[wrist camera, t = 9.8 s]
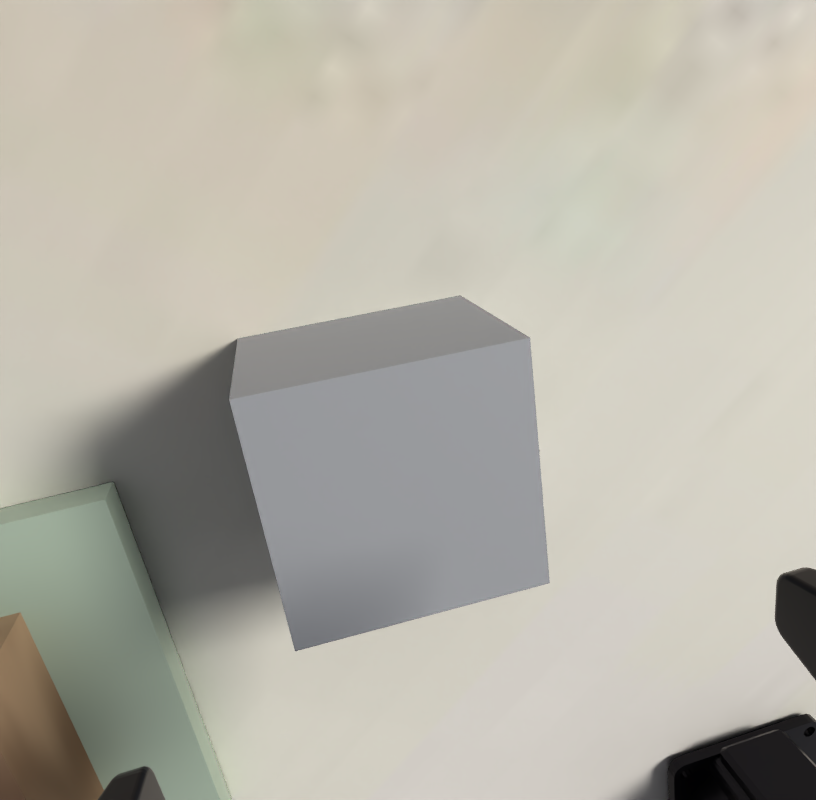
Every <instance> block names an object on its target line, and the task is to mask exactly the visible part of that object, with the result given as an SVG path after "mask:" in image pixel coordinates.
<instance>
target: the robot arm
mask: <svg viewBox="0 0 816 800" xmlns="http://www.w3.org/2000/svg"><path fill="white" fill-rule="evenodd" d="M775 622H776V626H777V628H778V631H779V632H780V634H781V636H782V637H783V639H784V640H785V641H786V643H787V644H788V645H789V646H790V648H791V649H792V650H793V652H794V653H795V654H796V655H797V657H798V658H799V659H800V661H801V662H802V663H803V665H804V666H805V667H806V668H807V670H808V671H809V672H810V674H811V675H812V676H813V677H814V679H815V680H816V570H815V569H811V568H800V569H796V570H793V571H790V572H786V573H783V574H782V575H780V576H779V578H778V580H777V585H776V605H775ZM668 787H669V800H816V720H815V719H814V718H813V717H812V716H811V715H809V714H804V715H800V716H797V717H794V718H791V719H788V720H785V721H782V722H779V723H777V724H774V725H771V726H768V727H765V728H762V729H759V730H756V731H753V732H750V733H747V734H744V735H741V736H738V737H735V738H732V739H729V740H726V741H723V742H720V743H718V744H715V745H712V746H709V747H706V748H703V749H700V750H697V751H694V752H691V753H688V754H685V755H682V756H679V757H677V758H675V759H674V760H673V761H672V762H671V763H670V765H669V768H668ZM98 800H165V797H164V795H163V793H162V790H161V788H160V786H159V783H158V781H157V779H156V776H155V774H154V772H153V770H152V769H151V768H150V767H148V766H143V767H139V768H136V769H133V770H129V771H126V772H123V773H120V774H118V775H116V776H115V777H114V778H113V779H112V780H111V781H110V782H109V784H108V785H107V787H106V788H105V790H104V791H103V792H102V794H101V795H100V797H99V798H98Z"/></svg>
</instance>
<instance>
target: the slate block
mask: <svg viewBox="0 0 816 800" xmlns="http://www.w3.org/2000/svg"><path fill="white" fill-rule="evenodd" d="M229 402H230V405H231V409H232V413H233V417H234V421H235V424H236V428H237V432H238V436H239V440H240V443H241V447H242V451H243V455H244V459H245V462H246V466H247V470H248V474H249V478H250V481H251V485H252V489H253V493H254V497H255V500H256V504H257V508H258V512H259V516H260V519H261V523H262V527H263V531H264V535H265V538H266V542H267V546H268V550H269V554H270V557H271V561H272V565H273V569H274V573H275V576H276V580H277V584H278V588H279V592H280V595H281V599H282V603H283V607H284V611H285V614H286V618H287V622H288V626H289V630H290V633H291V637H292V641H293V645H294V649H295V651H298V650H302V649H305V648H309V647H313V646H316V645H320V644H324V643H328V642H331V641H335V640H339V639H343V638H346V637H350V636H354V635H358V634H361V633H365V632H369V631H373V630H376V629H380V628H384V627H387V626H391V625H395V624H399V623H402V622H406V621H410V620H414V619H417V618H421V617H425V616H429V615H432V614H436V613H440V612H443V611H447V610H451V609H455V608H458V607H462V606H466V605H470V604H473V603H477V602H481V601H485V600H488V599H492V598H496V597H500V596H503V595H507V594H511V593H514V592H518V591H522V590H526V589H529V588H533V587H537V586H541V585H544V584H548V583H550V582H549V570H548V557H547V545H546V532H545V520H544V507H543V495H542V482H541V470H540V457H539V445H538V432H537V420H536V407H535V394H534V382H533V369H532V357H531V344H530V337H528V336H526V335H525V334H523V333H521V332H520V331H518V330H516V329H515V328H513V327H511V326H510V325H508V324H507V323H505V322H503V321H502V320H500V319H498V318H497V317H495V316H493V315H492V314H490V313H488V312H487V311H485V310H483V309H482V308H480V307H479V306H477V305H475V304H474V303H472V302H470V301H469V300H467V299H465V298H464V297H462V296H455V297H450V298H445V299H440V300H434V301H429V302H424V303H419V304H414V305H409V306H403V307H398V308H393V309H388V310H383V311H378V312H372V313H367V314H362V315H357V316H352V317H347V318H341V319H336V320H331V321H326V322H321V323H316V324H310V325H305V326H300V327H295V328H290V329H285V330H279V331H274V332H269V333H264V334H259V335H254V336H248V337H243V338H238V339H237V346H236V354H235V361H234V368H233V375H232V382H231V389H230V397H229Z"/></svg>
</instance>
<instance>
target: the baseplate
mask: <svg viewBox="0 0 816 800" xmlns="http://www.w3.org/2000/svg"><path fill="white" fill-rule="evenodd" d="M19 612H21V615H22V617H23V619H24V621H25V623H26V625H27V627H28V629H29V632H30V634H31V636H32V638H33V640H34V642H35V644H36V647H37V649H38V651H39V653H40V655H41V657H42V659H43V661H44V664H45V666H46V668H47V670H48V672H49V674H50V676H51V678H52V681H53V683H54V685H55V687H56V689H57V691H58V693H59V696H60V698H61V700H62V702H63V704H64V706H65V708H66V710H67V713H68V715H69V717H70V719H71V721H72V723H73V725H74V728H75V730H76V732H77V734H78V736H79V738H80V740H81V742H82V745H83V747H84V749H85V751H86V753H87V755H88V757H89V759H90V762H91V764H92V766H93V768H94V770H95V772H96V774H97V777H98V779H99V781H100V783H101V785H102V787H103V789H104V790H105V788H106V787H107V785H108V784H109V782H110V781H111V780H112V779H113V778H114V777H115V776H116V775H118V774H120V773H123V772H126V771H129V770H133V769H136V768H139V767H143V766H148V767H150V768H151V769H152V770H153V772H154V774H155V776H156V779H157V781H158V783H159V786H160V788H161V790H162V793H163V795H164V797H165V800H232V798H231V795H230V793H229V790H228V787H227V785H226V782H225V779H224V777H223V774H222V771H221V769H220V766H219V763H218V761H217V758H216V755H215V753H214V750H213V747H212V745H211V742H210V739H209V736H208V734H207V731H206V728H205V726H204V723H203V720H202V718H201V715H200V712H199V710H198V707H197V704H196V702H195V699H194V696H193V694H192V691H191V688H190V686H189V683H188V680H187V678H186V675H185V672H184V670H183V667H182V664H181V661H180V659H179V656H178V653H177V651H176V648H175V645H174V643H173V640H172V637H171V635H170V632H169V629H168V627H167V624H166V621H165V619H164V616H163V613H162V611H161V608H160V605H159V603H158V600H157V597H156V595H155V592H154V589H153V586H152V584H151V581H150V578H149V576H148V573H147V570H146V568H145V565H144V562H143V560H142V557H141V554H140V552H139V549H138V546H137V544H136V541H135V538H134V536H133V533H132V530H131V528H130V525H129V522H128V520H127V517H126V514H125V511H124V509H123V506H122V503H121V501H120V498H119V495H118V493H117V490H116V487H115V485H114V482H111V483H107V484H102V485H98V486H94V487H90V488H85V489H81V490H77V491H73V492H69V493H64V494H60V495H56V496H52V497H48V498H43V499H39V500H35V501H31V502H26V503H22V504H18V505H14V506H10V507H5V508H1V509H0V617H4V616H8V615H12V614H15V613H19Z"/></svg>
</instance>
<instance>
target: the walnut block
mask: <svg viewBox="0 0 816 800" xmlns="http://www.w3.org/2000/svg"><path fill="white" fill-rule="evenodd" d="M103 791H104V789H103V787H102V785H101V783H100V781H99V779H98V777H97V774H96V772H95V770H94V768H93V766H92V764H91V762H90V759H89V757H88V755H87V753H86V751H85V749H84V747H83V745H82V742H81V740H80V738H79V736H78V734H77V732H76V730H75V728H74V725H73V723H72V721H71V719H70V717H69V715H68V713H67V710H66V708H65V706H64V704H63V702H62V700H61V698H60V696H59V693H58V691H57V689H56V687H55V685H54V683H53V681H52V678H51V676H50V674H49V672H48V670H47V668H46V666H45V664H44V661H43V659H42V657H41V655H40V653H39V651H38V649H37V647H36V644H35V642H34V640H33V638H32V636H31V634H30V632H29V629H28V627H27V625H26V623H25V621H24V619H23V617H22V615H21V612H19V613H15V614H12V615H8V616H4V617H0V800H98V798H99V797H100V795H101V794H102V792H103Z"/></svg>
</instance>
